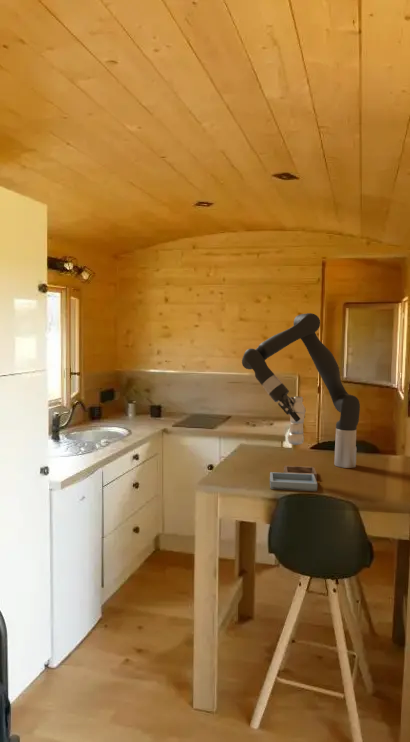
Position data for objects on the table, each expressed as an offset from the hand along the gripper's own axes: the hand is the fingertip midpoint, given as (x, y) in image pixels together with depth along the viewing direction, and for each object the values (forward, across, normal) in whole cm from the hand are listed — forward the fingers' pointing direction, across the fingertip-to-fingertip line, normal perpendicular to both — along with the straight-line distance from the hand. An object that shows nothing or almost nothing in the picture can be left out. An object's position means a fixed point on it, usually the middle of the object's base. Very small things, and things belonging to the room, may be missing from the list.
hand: (300, 419), depth 232 cm
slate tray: (+18, -8, +18) cm, 27 cm away
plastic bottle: (+7, 0, +9) cm, 11 cm away
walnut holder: (+17, +7, +19) cm, 27 cm away
